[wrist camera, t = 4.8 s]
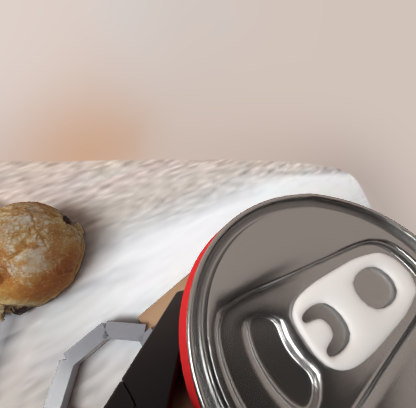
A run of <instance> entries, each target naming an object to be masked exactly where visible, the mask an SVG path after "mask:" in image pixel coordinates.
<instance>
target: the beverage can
mask: <svg viewBox="0 0 416 408" xmlns="http://www.w3.org/2000/svg"><path fill="white" fill-rule="evenodd" d="M179 349H180V359H181V365H182V370H183V375H184V379H185V384H186V388H187V391H188V394H189V397H190V400H191V403H192V406H193V408H416V235H414V234H413V233H411V232H410V231H409V230H407V229H406V228H404V227H403V226H401V225H400V224H398V223H397V222H395V221H393V220H391V219H390V218H388V217H386V216H384V215H382V214H380V213H378V212H376V211H374V210H372V209H369V208H367V207H364V206H362V205H359V204H356V203H353V202H350V201H347V200H343V199H339V198H335V197H330V196H325V195H319V194H298V195H289V196H283V197H278V198H274V199H270V200H267V201H264V202H262V203H259V204H257V205H255V206H253V207H251V208H249V209H247V210H245V211H244V212H242V213H240V214H239V215H237V216H236V217H235V218H233V219H232V220H231V221H230V222H229V223H228V224H226V225H225V226H224V227H223V228H222V229H221V230H220V231H219V232H218V233H217V234H216V235H215V236H214V237H213V238H212V239H211V240H210V241H209V242H208V244H207V245H206V246H205V247H204V249H203V250H202V252H201V253H200V255H199V256H198V258H197V260H196V261H195V263H194V266H193V268H192V270H191V272H190V274H189V277H188V279H187V283H186V286H185V289H184V293H183V297H182V302H181V308H180V317H179Z"/></svg>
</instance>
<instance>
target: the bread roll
mask: <svg viewBox="0 0 416 408" xmlns="http://www.w3.org/2000/svg"><path fill="white" fill-rule="evenodd" d="M84 233H85V232H84V230H83V227H82V226H81V225H80V224H79V223H75V224H73V223H72V222H70V220H69V218H67V217H66V216H63V214H62V213H61V212H60V211H58V210H56V209H55V208H53V207H51V206H48V205H46V204H42V203H39V202H20V203H13V204H10V205H7V206H4V207H2V208H0V322H1V321H3V320H5V319H3V318H4V316H5V313H13V314H17V315H21V314H23V313H25V312H26V311H27V310H29V309H30V308H32V307H36V306H42V305H44V304H45V303H47V302H48V301H50V300H51V299H52V298H55V297H57V295H58V294H59V293H61V292H62V291H63V290H64V289H65V288H66V287H67V286H69V285H70V283H72V282H73V280H74V277H75V275H76V274H77V272H78V270H79V269H80V265H81V261H82V259H83V256H84V252H85V247H86V246H85V242H84V238H83V234H84Z"/></svg>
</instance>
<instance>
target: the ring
mask: <svg viewBox="0 0 416 408" xmlns="http://www.w3.org/2000/svg"><path fill="white" fill-rule="evenodd" d="M146 328H147V324H136V323H125V322H114V321H107V323H101V324H100V325H98V326H97V327H96V328H95V329H94V330H92V331H91V332H90V333H89V334H87V335H86V336H85V337H84V338H83V339H81V340H80V341H79V342H78V343H76V344H75V345H74V346H73V347H71V348H70V349H69V350H68V351H67V352H65V353H64V356H65V358H66V359H63V360H59V363H58V366H57V369H56V372H55V375H54V378H53V380H52V383H51V386H50V389H49V392H48V395H47V398H46V401H45V404H44V407H43V408H67V406H68V403H69V400H70V396H71V393H72V389H73V386H74V383H75V379H76V376H77V373H78V369H79V366H80V364H81V363H82V362H83V361H84V360H85V359H86V358H88V357H89V356H90V355H91V354H92V353H94V352H95V351H96V350H97V349H98V348H99V347H101V346H102V345H103V344H104V343H105V342H107V341H108V340H109V339H120V340H131V341H140V343H141V345H142V346H143V345H144V343H145V341H146V340H147V338H148V337H149V335H150V333H151V332H152V330H153V329H152V327H150V328H149V329H148V330H147V331H146Z"/></svg>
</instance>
